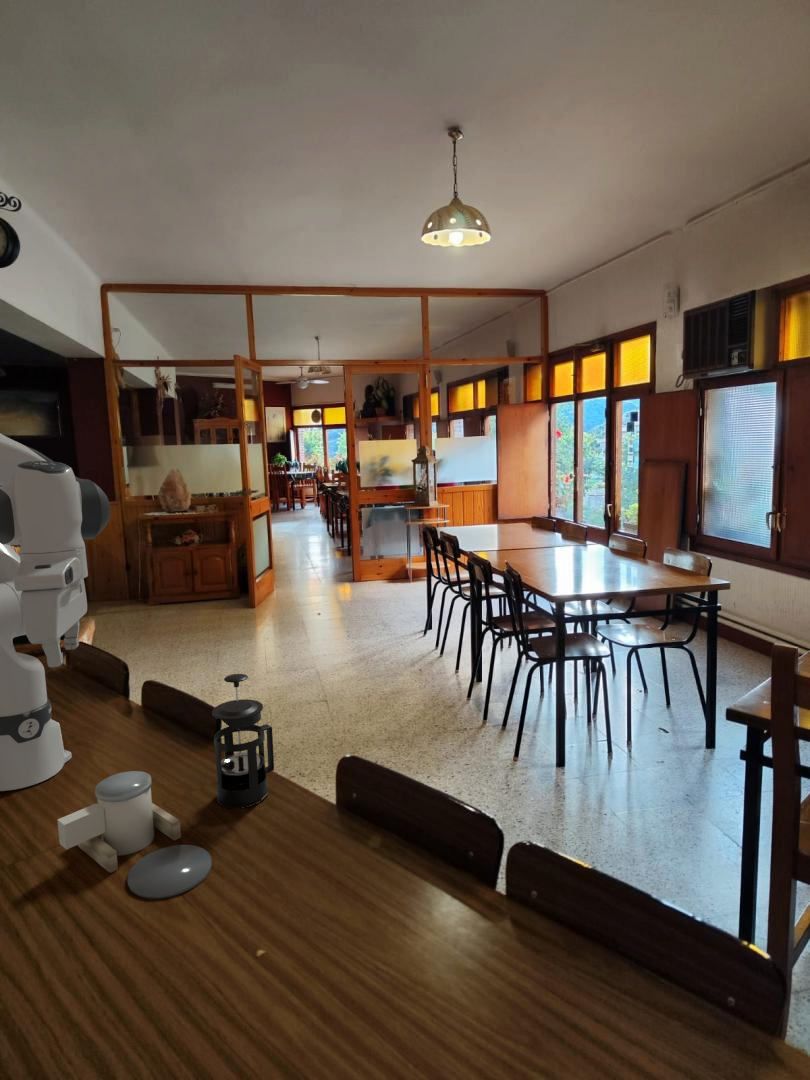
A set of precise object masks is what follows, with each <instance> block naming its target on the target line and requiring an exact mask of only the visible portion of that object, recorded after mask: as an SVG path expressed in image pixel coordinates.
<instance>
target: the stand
mask: <svg viewBox="0 0 810 1080" xmlns="http://www.w3.org/2000/svg"><path fill="white" fill-rule="evenodd" d="M152 812H153V825H154V829H156V830H157V831H160V833H162V834H163V835H165V836H167V837H169V838H170V839H171V840H173V841H177V840H178V839H181V838H182V834H181V833H182V832H181V821H180V819H178V818H176V816H173V815H172V814H171V813H169V812H167V811H165V810H164V809H162V808H161V807H160V806H158V805H156V804H155V803H153V802H152ZM76 846H77V847H78V848H79V849H80V850H82V851H83V852H84V853H85V854H87V855H88V856H89V857H91V859H93V860H94V861H95V862H96V863H97V864H98V865H100V866H101V867H102V868H103V869H105V871H107V872H108V873H109V874H112V873H113V872H115V871H118V870H119V866H118V856H117V852H116V851H115V850H114V849H113V848H112V847H110V846H109V845H108V844H107V843H105V842H104V841H103V840H101V834H100V835H98V836H96V837H93V838H91V839H89V840H87V841H85V842H82V843H80V844H78V845H76Z"/></svg>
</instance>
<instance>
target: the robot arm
mask: <svg viewBox="0 0 810 1080" xmlns="http://www.w3.org/2000/svg"><path fill="white" fill-rule="evenodd" d="M111 511H112V510H111V504H110V501H109V498H108V496H107V494H106V493H105V492H104V491H103V490H102V488H101V487H100V486H98V485H97V484H96V483H95V482H94V481H92V480H90V479H88V478H87V479H85V478H80V477H77V476H76V475H75V473H74V471H73V468H72V467H70V466H69V465H67V464H66V463H63V462H59V461H54V460H52V459H51V458H49V457H48V456H46V455H45V454H43V453H42V452H39V451H38V450H36V449H34V448H33V447H29V446H27V445H24V444H22V443H20V442H18V441H16V440H14V439H11V438H10V437H8V436H6V435H4V434H3V433H1V432H0V792H5V791H14V790H19V789H24V788H27V787H31V786H35V785H38V784H39V783H42V782H44V781H46V780H48V779H50V778H52V777H53V776H55V775H57V774H58V773H59V772H60V771H61V770H62V768H63V767H64V765H65V763H67V762H68V761H70V760H71V759H72V758H73V755H72V752H71V751H70V750H66V749H65V748H64V747H65V746H64V742H63V736H62V730H61V725H60V723H59V722H57V721H56V720H54V719H52V716H53V715H52V704H51V700H50V699H49V698H48V693H47V683H46V672H45V667H44V665H43V663H42V662H41V661H40V660H39V659H38V658H37V657H35V656H33V655H30V654H27V653H22V652H16V649H15V646H14V642H13V639H14V638H18V637H20V636H26V637H27V639H28V641H29V643H31V644H33V645H37V644H41V648H42V649H43V652H44V654H45V657H46V663H47V666H48V667H49V668H57V667H60V666H62V664H63V662H64V653H63V651H62V650H61V646H60V644H61V637H63V635H64V639H63V643H64V649H65V650H66V651H70V650H76V649H77V648H78V647H79V645H80V643H79V641H80V640H79V634H80V625H81V624H80V619H81V618H82V617H84V616H85V615H86V614H87V612H88V599H87V592H86V584H85V580H84V579H86V578H88V576H89V572H88V571H89V570H88V561H87V560H88V559H87V552H86V544H85V541H84V540H93V539H96V538H97V536H98V535H99V534H100V533H101V532H103V530H104V529H105V528H106V526H107V525H108V522H109V521H110V518H111V513H112V512H111ZM12 546H20V547H19V554H18V553H17V552H16V551H15V549H14V548H13V547H12ZM61 651H62V652H61Z"/></svg>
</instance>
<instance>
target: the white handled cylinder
mask: <svg viewBox="0 0 810 1080" xmlns="http://www.w3.org/2000/svg"><path fill="white" fill-rule="evenodd" d="M152 784H153V783H152V776H151V775H150V774H149V773H147V772H146V771H145V772H144V771H140V770H139V771H138V770H132V771H123V772H120V773H116V774H113V775H111V776H108V777H106V778H104V779H103V780H101V781H100V782H99V783H97V785H96V786H95V788H94V791H95V792H94V793H95V797H96V798H97V803H93V804H91V805H89V806H86V807H83V808H82V809H79V810H77V811H74V812H72V813H70V814H68V815H65V816H63V817H60V818H58V819H56V820H57V830H58V838H59V845H60V846H61V847H63V848H64V849H65V850H66V851H67V850H69V849H71V848H73V847H76V846H77V845H78V844H80V843H82V842H85V841H87V840H89V839H91V838H93V837H96V836H98V835H100V834H101V837H100V839H101V840H103V841H104V842H105V843H107V844H108V845H109V846H110V847H112V848H113V849H114V850H115V851H116V852H117V857H118V856H126V855H130V854H134V853H137V852H139V851H142V850H143V849H145V848H146V847H148V846H149V845H150V844H151V843H152V842H153V841H154V839H155V827H154V825H153V812H152V803H153V799H152V790H151V789H152V787H151V786H152Z"/></svg>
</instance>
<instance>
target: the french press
mask: <svg viewBox="0 0 810 1080" xmlns="http://www.w3.org/2000/svg"><path fill="white" fill-rule="evenodd" d="M248 678H249V676H248V675H247V674H245V673H234V674H232V673H231V674H229V675H227V676H225V677H224V678H223V681H224V682H226V683H233V687H234V688H235V698H236V699H235V700H229V701H225V702H222V703H219V704H217V705H216V706H215V707H214V708H213V709H212V716H213V717H214V718H215V719H216V720H221V721H222V722H223V723H224V724H225V725H226V726H227V727H224V728H221V729H219V730H218V731H216V733H215V734H214V736H213V743H214V749H215V762H216V763H215V765H216V791H217V792H216V793H217V794H216V799H217V800H216V802H217V801H218V802H219V804H221V805H222V806H224V807H223V808H225V807H228V808H227V809H230V808H242V807H247V806H250V805H253V804H256V803H257V802H259V801H261V800H262V799H264V798H265V797H266V795H267V794H268V795H269V793H268V791H269V787H268V777H267V776H268V775H267V774H268V773H271V772H273V771H274V770H275V761H274V760H275V758H274V757H275V756H274V741H273V740H274V738H273V726H271V725H269V724H262V725H258V723H259V722H260V721H261V719H262V711H263V708H264V707H263V706H264V705H263V703H262V702H261V701H258V700H255V699H249V698H247V699H246V698H244V699H239V689H238V688H239V687H240V682H244V681H246V680H247V679H248ZM265 731H266V732H265ZM236 732H238V735H237V737H238V743H237V744H236V743H235V744H234V737H233V736H234V734H233V733H236ZM241 732H255V733H257V738H256V739H253V740H252V741H248V742H243V743H242V742H241V741H242V740H241V739H242V738H241ZM265 733H266V735H265ZM222 737H223V740H224V741H223V742H220V741H218V740H219V739H220V738H222ZM265 737H266V748H267V751H266V752H267V766H266V761H265V760H266V759H265ZM257 747H258V752H257ZM245 751H246V752H245ZM222 752H224V758H222ZM240 784H249V785H248V786H249V788H246V789H239V790H231V789H233V788H235V786H236V787H238V786H237V785H240ZM240 786H241V785H240ZM232 787H233V788H232ZM230 788H231V789H230ZM228 789H229V790H228ZM269 792H270V791H269ZM266 798H267V797H266ZM264 800H265V799H264ZM218 802H217V803H218ZM219 804H218V805H219ZM221 805H220V806H221ZM222 806H221V807H222ZM242 809H243V808H242Z"/></svg>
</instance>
